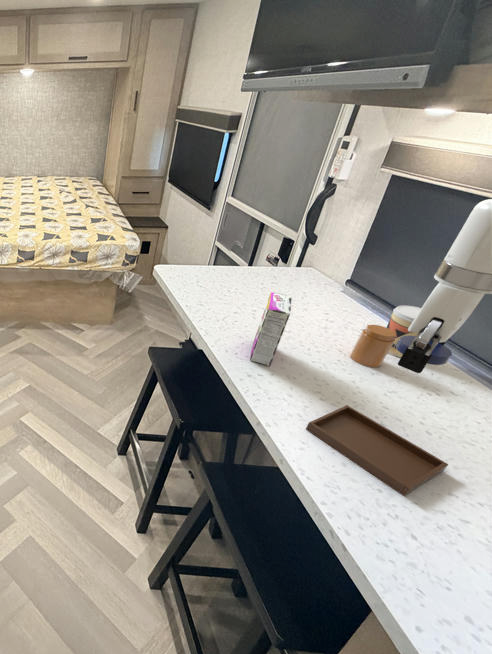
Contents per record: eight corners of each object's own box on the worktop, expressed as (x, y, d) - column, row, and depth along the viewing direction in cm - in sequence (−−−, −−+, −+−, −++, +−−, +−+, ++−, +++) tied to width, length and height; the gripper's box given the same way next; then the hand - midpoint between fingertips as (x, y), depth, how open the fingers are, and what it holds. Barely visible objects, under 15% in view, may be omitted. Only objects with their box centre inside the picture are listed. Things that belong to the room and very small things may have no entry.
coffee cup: (367, 339, 115) (386, 303, 109) (404, 342, 113) (425, 306, 108) (390, 359, 107) (412, 321, 101) (430, 362, 105) (454, 324, 100)
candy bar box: (252, 341, 115) (270, 291, 107) (272, 346, 112) (292, 295, 104) (248, 360, 107) (267, 308, 99) (270, 367, 104) (291, 313, 96)
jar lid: (392, 353, 74) (397, 345, 73) (397, 338, 78) (402, 331, 77) (445, 370, 69) (450, 361, 68) (447, 354, 73) (453, 346, 72)
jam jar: (386, 363, 105) (403, 333, 100) (371, 369, 103) (389, 339, 98) (358, 350, 110) (374, 321, 106) (344, 356, 108) (359, 326, 103)
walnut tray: (443, 471, 76) (448, 464, 75) (404, 496, 71) (409, 489, 70) (343, 411, 90) (347, 404, 89) (305, 429, 85) (308, 422, 84)
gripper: (454, 257, 72) (406, 338, 81) (421, 279, 64) (372, 366, 73) (516, 272, 67) (458, 357, 75) (489, 298, 59) (427, 390, 67)
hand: (416, 361), depth 74 cm, fingers closed on jar lid, 6 cm apart
